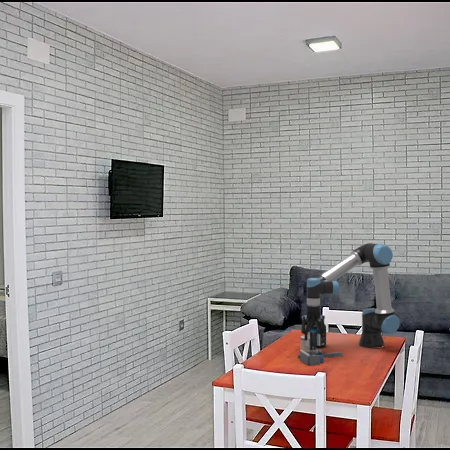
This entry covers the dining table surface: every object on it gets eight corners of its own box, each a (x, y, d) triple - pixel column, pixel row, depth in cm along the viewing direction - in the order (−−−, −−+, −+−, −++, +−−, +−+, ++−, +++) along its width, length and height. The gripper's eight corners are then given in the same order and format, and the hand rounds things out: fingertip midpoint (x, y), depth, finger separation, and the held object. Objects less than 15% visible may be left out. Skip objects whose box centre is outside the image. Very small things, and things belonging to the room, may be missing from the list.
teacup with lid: (314, 354, 351) (314, 334, 351) (298, 353, 354) (299, 333, 354) (317, 350, 363) (317, 330, 363) (302, 349, 365) (302, 330, 365)
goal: (311, 359, 339) (311, 349, 339) (320, 364, 328) (320, 354, 328) (300, 360, 337) (300, 350, 337) (307, 365, 326) (308, 354, 326)
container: (326, 344, 379) (326, 318, 378) (326, 349, 367) (326, 322, 366) (307, 343, 381) (307, 317, 380) (306, 348, 369) (306, 322, 368)
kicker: (316, 356, 347) (316, 331, 346) (326, 362, 333) (327, 336, 332) (306, 356, 345) (306, 331, 345) (316, 362, 331) (317, 336, 331)
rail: (340, 355, 350) (340, 352, 350) (342, 356, 348) (342, 352, 348) (297, 358, 343) (297, 354, 343) (298, 358, 341) (298, 355, 341)
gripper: (326, 303, 349) (325, 343, 350) (295, 304, 344) (294, 345, 345) (331, 305, 342) (331, 346, 343) (300, 306, 337) (299, 347, 338)
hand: (312, 345), depth 344 cm, fingers open, 6 cm apart
